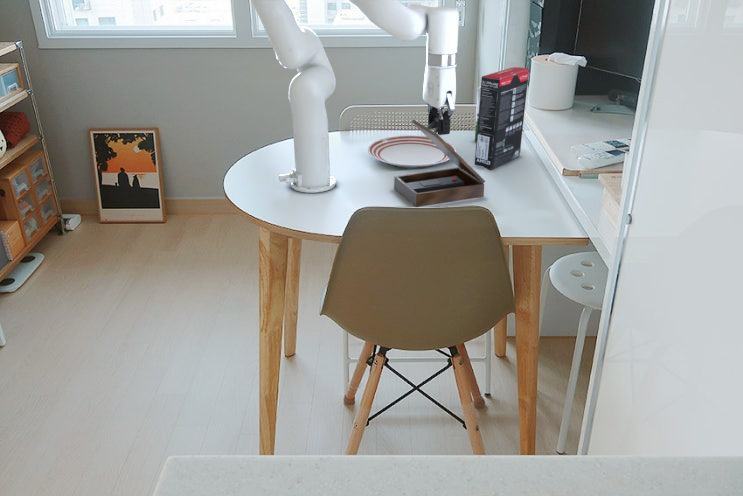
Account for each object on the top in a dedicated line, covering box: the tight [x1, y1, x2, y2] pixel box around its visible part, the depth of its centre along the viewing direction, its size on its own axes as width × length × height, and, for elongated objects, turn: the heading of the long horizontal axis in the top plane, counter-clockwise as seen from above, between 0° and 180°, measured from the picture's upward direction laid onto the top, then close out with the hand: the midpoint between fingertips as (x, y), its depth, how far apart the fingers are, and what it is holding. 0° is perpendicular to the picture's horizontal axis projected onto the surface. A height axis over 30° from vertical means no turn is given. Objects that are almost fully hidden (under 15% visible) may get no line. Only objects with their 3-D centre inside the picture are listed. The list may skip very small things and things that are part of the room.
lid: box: [411, 116, 486, 184], centre depth 186 cm, size 20×15×5 cm
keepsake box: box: [393, 166, 485, 208], centre depth 189 cm, size 20×15×4 cm
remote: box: [406, 176, 464, 193], centre depth 189 cm, size 15×5×3 cm, turn 111°
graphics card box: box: [474, 66, 530, 170], centre depth 209 cm, size 17×7×27 cm, turn 141°
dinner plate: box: [367, 134, 458, 169], centre depth 217 cm, size 27×27×3 cm
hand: (438, 130), depth 182 cm, fingers closed on lid, 5 cm apart
